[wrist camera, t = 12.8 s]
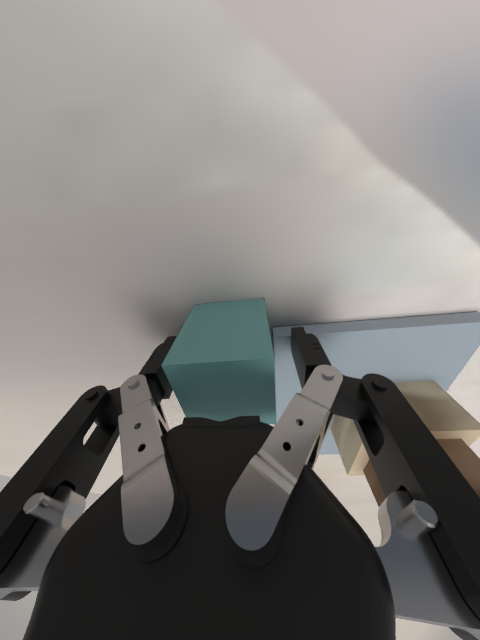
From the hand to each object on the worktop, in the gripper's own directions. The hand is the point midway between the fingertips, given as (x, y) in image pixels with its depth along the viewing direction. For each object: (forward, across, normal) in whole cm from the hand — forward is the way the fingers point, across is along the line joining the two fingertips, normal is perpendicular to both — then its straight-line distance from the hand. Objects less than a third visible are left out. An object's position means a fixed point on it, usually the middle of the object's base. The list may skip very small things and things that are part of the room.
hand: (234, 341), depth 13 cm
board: (+1, -10, +9) cm, 13 cm away
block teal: (+1, 0, 0) cm, 1 cm away
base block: (0, -12, +9) cm, 15 cm away
